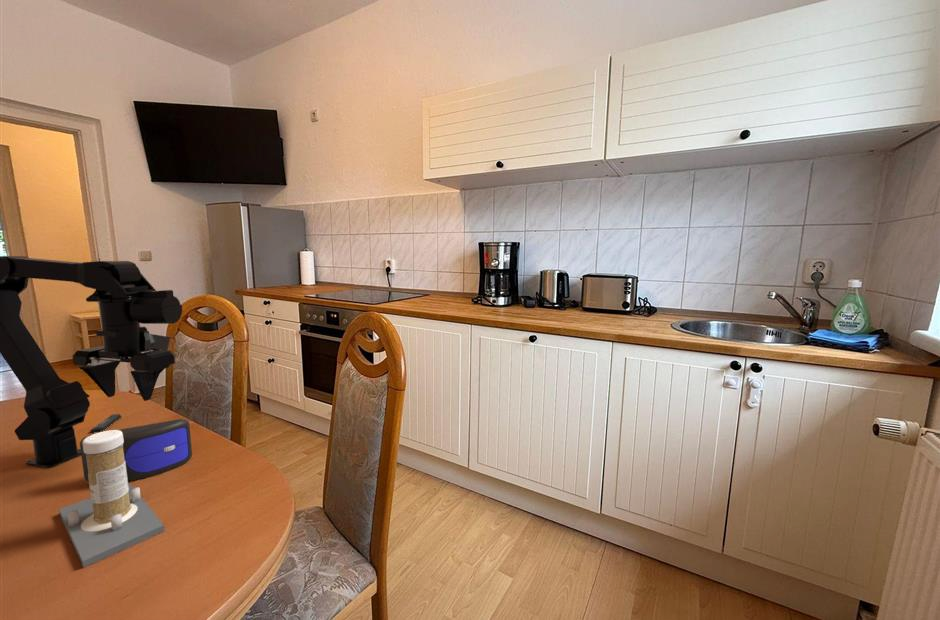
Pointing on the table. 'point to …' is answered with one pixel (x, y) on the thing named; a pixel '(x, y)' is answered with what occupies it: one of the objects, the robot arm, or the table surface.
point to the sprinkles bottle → (107, 474)
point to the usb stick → (106, 423)
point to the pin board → (109, 528)
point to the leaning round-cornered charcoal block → (152, 448)
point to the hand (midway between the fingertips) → (129, 398)
